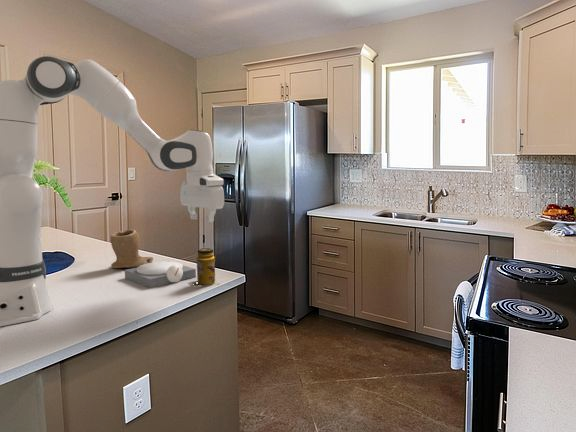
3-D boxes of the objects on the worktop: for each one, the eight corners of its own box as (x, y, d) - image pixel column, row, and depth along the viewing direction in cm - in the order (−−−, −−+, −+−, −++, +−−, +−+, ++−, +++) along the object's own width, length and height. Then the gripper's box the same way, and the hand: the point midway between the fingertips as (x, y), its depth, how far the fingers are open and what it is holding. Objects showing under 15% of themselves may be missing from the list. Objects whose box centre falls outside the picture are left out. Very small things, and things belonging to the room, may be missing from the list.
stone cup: (107, 271, 167) (104, 233, 165) (115, 264, 179) (113, 228, 177) (148, 270, 169) (146, 232, 167) (153, 263, 181) (152, 227, 179)
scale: (152, 288, 145) (151, 270, 145) (125, 278, 158) (124, 261, 158) (197, 277, 158) (197, 260, 158) (168, 268, 172) (168, 253, 171)
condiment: (219, 284, 150) (218, 249, 149) (196, 288, 146) (195, 253, 144) (211, 279, 156) (210, 246, 155) (188, 283, 152) (186, 249, 150)
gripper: (174, 179, 151) (176, 218, 153) (211, 181, 137) (212, 224, 139) (190, 178, 156) (191, 216, 157) (226, 179, 142) (228, 222, 144)
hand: (202, 220), depth 148 cm, fingers open, 8 cm apart
